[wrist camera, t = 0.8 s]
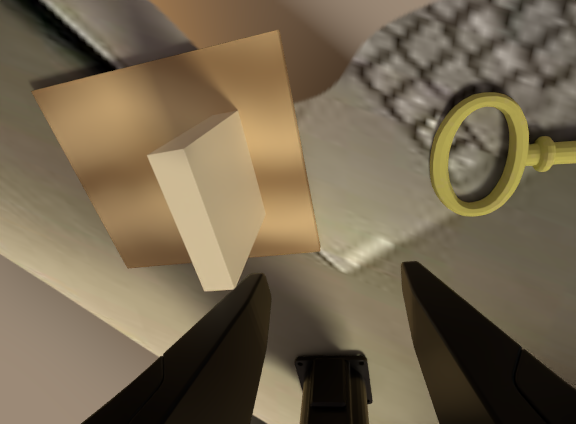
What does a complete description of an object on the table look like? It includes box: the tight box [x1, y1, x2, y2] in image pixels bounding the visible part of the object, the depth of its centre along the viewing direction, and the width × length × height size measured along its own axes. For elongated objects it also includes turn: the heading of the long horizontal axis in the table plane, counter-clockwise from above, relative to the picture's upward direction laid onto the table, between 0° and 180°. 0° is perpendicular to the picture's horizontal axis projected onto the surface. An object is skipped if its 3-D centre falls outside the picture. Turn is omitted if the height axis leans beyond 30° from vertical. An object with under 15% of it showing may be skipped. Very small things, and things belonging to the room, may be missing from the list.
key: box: [430, 92, 576, 216], centre depth 17 cm, size 7×12×2 cm, turn 117°
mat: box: [31, 30, 320, 268], centre depth 21 cm, size 14×16×1 cm
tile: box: [147, 110, 266, 291], centre depth 17 cm, size 7×2×8 cm, turn 12°
